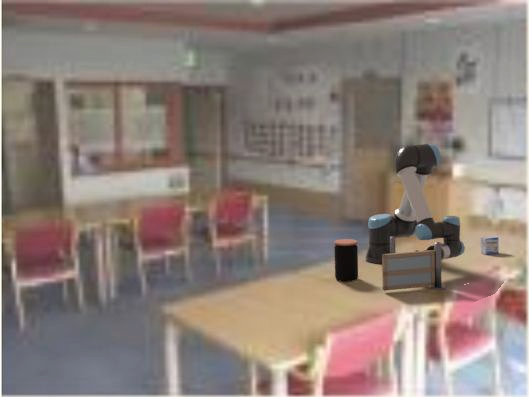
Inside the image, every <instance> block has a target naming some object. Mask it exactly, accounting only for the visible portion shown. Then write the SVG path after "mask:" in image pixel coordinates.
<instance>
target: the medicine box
mask: <svg viewBox="0 0 529 397" xmlns="http://www.w3.org/2000/svg"><path fill="white" fill-rule="evenodd" d="M499 242H500V241H499V237H497V236H483V237H480V254H481V255H485V256H488V255H489V254H490V255H498V254H499V247H500V246H499Z"/></svg>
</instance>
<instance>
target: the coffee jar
mask: <svg viewBox="0 0 529 397" xmlns="http://www.w3.org/2000/svg"><path fill="white" fill-rule="evenodd" d="M333 242H334V252H333V253H334V277H335V279H336V280H337V281H339V282H347V283H348V282H349V283H350V282H354V281H357V280H358V278H359V258H358V257H359V254H358V252H359V250H358V245H357V244H358V240H356V239H351V238H343V239H342V238H341V239H336V240H334V241H333Z"/></svg>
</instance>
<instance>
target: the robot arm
mask: <svg viewBox="0 0 529 397" xmlns="http://www.w3.org/2000/svg"><path fill="white" fill-rule="evenodd" d="M441 161H442V156H441V152H440V149H439V148H438V146H437V145H436V144H434V143H421V144H420V143H419V144H408V145H404V146H402V147H401V148H399V150H398V151H397V153H396V155H395V158H394V169H395V172H396V176H397V177H399V178H400V180H401V182H402V185H403V188H404V191H403V193H402V194H403V195H402V198H401V201H400V204H399V207H398V208H397V209H395V211H394V214H393V215H391V214H389V213H382V214H381V213H379V214H378V213H377V214H375V215H372V216H370V217H369V219H368V223H367V224H368V225H367V229H368V247H367V251H366V253H365V261H367V263H368V262H369V263H371V264H373V263H374V264H382V254H390V237H392V236H394V237H395V239H398V238H399V239H402V238H410V237H413V236H416V239H418V240H419V241H430V240H436V239H443V242H440V243H441V262H443V260H447V259H452V258H457V257H459V256H461V255H463V254H464V253H465V250H466V248H465V244H464V242H463V241H462V240H461V218H460V217H459V216H456V215H445V216H444V217H443V219H442V220H443V221H437V222H435V220H434V218H433V214H432V212H431V209H430V207H429V204H428V201H427V198H426V196H425V193H424V188H425V184H426V182H427V178H428V176H430V175H432V173H433V169H434V168H438V167H439V166H440V164H441ZM427 250H434V244H432V245H430V246H428V247H427V249H424V250H423V251H427ZM415 251H419V250H418V249H417V250H415Z"/></svg>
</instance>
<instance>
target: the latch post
mask: <svg viewBox="0 0 529 397" xmlns="http://www.w3.org/2000/svg"><path fill="white" fill-rule="evenodd" d="M391 253H397V252H396V238H395V237H394V236H392V237H390V254H391Z"/></svg>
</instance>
